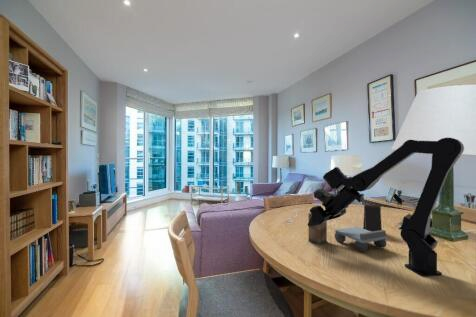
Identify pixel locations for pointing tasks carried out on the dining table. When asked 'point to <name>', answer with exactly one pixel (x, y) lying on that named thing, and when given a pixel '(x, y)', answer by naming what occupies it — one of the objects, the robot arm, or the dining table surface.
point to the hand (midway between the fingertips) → (314, 223)
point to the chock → (318, 232)
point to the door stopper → (372, 218)
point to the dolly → (362, 237)
